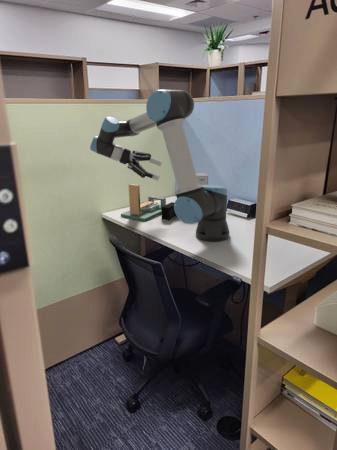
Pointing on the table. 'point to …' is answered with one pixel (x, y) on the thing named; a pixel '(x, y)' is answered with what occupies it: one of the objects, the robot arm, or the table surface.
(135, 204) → the upright wooden plank
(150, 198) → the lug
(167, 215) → the digital camera
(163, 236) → the table surface
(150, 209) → the heat sink
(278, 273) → the table surface
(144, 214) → the circuit board
